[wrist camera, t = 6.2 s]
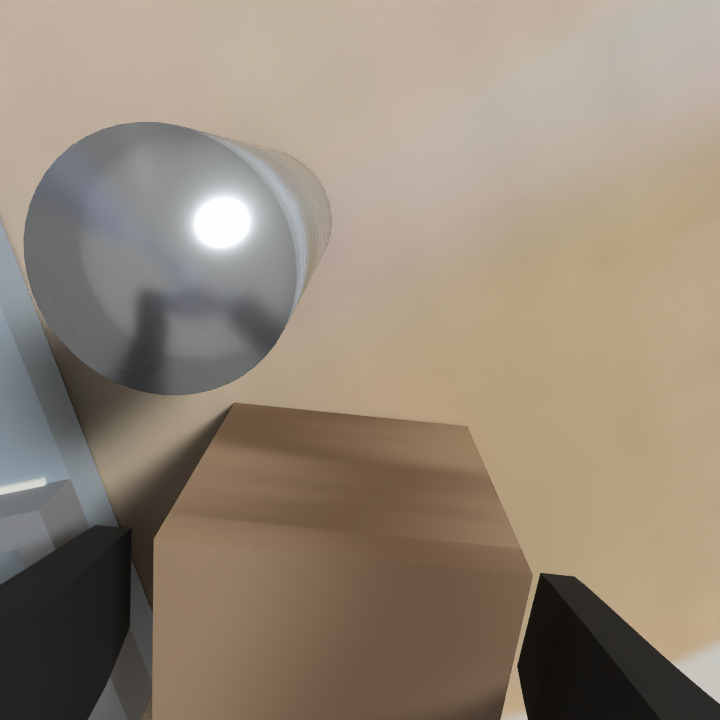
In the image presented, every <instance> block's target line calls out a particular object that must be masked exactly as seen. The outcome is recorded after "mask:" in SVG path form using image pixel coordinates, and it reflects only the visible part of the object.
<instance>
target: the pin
mask: <svg viewBox="0 0 720 720" xmlns="http://www.w3.org/2000/svg"><path fill="white" fill-rule="evenodd" d="M331 226H332V216H331V208H330V204H329V200H328V197H327V195H326V192H325V190H324V188H323V186H322V184H321V183H320V181H319V180H318V178H317V177H316V176H315V174H314V173H313V172H312V171H311V170H310V169H309V168H308V167H307V166H306V165H304V164H303V163H302V162H301V161H299V160H297V159H296V158H294V157H292V156H290V155H288V154H286V153H283V152H279V151H276V150H272V149H268V148H264V147H260V146H256V145H252V144H248V143H245V142H241V141H237V140H233V139H229V138H225V137H221V136H217V135H213V134H209V133H205V132H201V131H197V130H193V129H189V128H185V127H181V126H177V125H171V124H165V123H158V122H135V123H127V124H120V125H116V126H113V127H109V128H106V129H102V130H100V131H97V132H95V133H93V134H91V135H89V136H86V137H85V138H83V139H81V140H80V141H78V142H77V143H75V144H74V145H72V146H71V147H69V148H68V149H67V150H66V151H65V152H64V153H63V154H62V155H61V156H59V157H58V158H57V159H56V160H55V162H54V163H53V164H52V165H51V167H50V168H49V169H48V170H47V172H46V173H45V174H44V176H43V178H42V180H41V181H40V183H39V185H38V186H37V188H36V190H35V193H34V195H33V198H32V200H31V203H30V206H29V210H28V214H27V218H26V223H25V232H24V258H25V265H26V271H27V276H28V280H29V283H30V286H31V290H32V293H33V295H34V298H35V300H36V302H37V305H38V307H39V309H40V311H41V313H42V314H43V316H44V318H45V320H46V321H47V323H48V325H49V326H50V328H51V329H52V330H53V332H54V333H55V334H56V336H57V337H58V338H59V340H60V341H61V342H62V343H63V344H64V345H65V346H66V347H67V348H68V349H69V350H70V351H71V352H72V353H73V354H74V355H75V356H76V357H77V358H79V359H80V360H81V361H82V362H83V363H84V364H86V365H87V366H89V367H90V368H92V369H93V370H95V371H96V372H98V373H99V374H101V375H103V376H105V377H106V378H108V379H110V380H112V381H114V382H116V383H119V384H121V385H124V386H127V387H129V388H132V389H136V390H140V391H144V392H147V393H155V394H162V395H186V394H195V393H201V392H205V391H209V390H213V389H216V388H218V387H221V386H223V385H226V384H228V383H230V382H232V381H234V380H236V379H238V378H239V377H241V376H243V375H244V374H246V373H247V372H248V371H250V370H251V369H252V368H254V367H255V366H256V365H257V364H258V363H259V362H260V361H261V360H262V359H263V358H264V357H265V356H266V355H267V354H268V353H269V351H270V350H271V349H272V347H273V346H274V345H275V344H276V342H277V340H278V339H279V337H280V335H281V334H282V332H283V330H284V328H285V326H286V324H287V323H288V321H289V319H290V317H291V315H292V313H293V311H294V309H295V307H296V305H297V303H298V301H299V300H300V298H301V296H302V294H303V292H304V290H305V288H306V286H307V284H308V282H309V280H310V279H311V277H312V275H313V273H314V271H315V269H316V267H317V265H318V263H319V261H320V259H321V257H322V256H323V254H324V252H325V250H326V247H327V245H328V242H329V238H330V234H331Z"/></svg>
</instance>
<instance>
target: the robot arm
mask: <svg viewBox="0 0 720 720" xmlns="http://www.w3.org/2000/svg"><path fill="white" fill-rule="evenodd" d="M131 536H132V529H131V528H122V527H113V526H103V525H95V526H93V527H91V528H90V529H88V530H86V531H85V532H83V533H81V534H80V535H78V536H76V537H75V538H73V539H72V540H70V541H69V542H67V543H65V544H64V545H62V546H61V547H59V548H58V549H56V550H54V551H53V552H51V553H50V554H48V555H47V556H45V557H43V558H42V559H40V560H39V561H37V562H36V563H34V564H32V565H31V566H29V567H28V568H26V569H24V570H23V571H21V572H19V573H18V574H16V575H15V576H13V577H11V578H10V579H8V580H7V581H5V582H3V583H2V584H0V720H88V718H89V717H90V715H91V713H92V711H93V709H94V707H95V705H96V704H97V702H98V700H99V698H100V696H101V694H102V692H103V690H104V689H105V687H106V685H107V682H108V680H109V678H110V675H111V673H112V670H113V668H114V666H115V663H116V661H117V659H118V656H119V653H120V651H121V648H122V646H123V643H124V641H125V638H126V636H127V633H128V631H129V628H130V602H131ZM517 667H518V673H519V678H520V683H521V688H522V694H523V699H524V704H525V708H526V713H527V717H528V720H720V704H719V703H718V702H716V701H715V700H714V699H713V698H712V697H710V696H709V695H708V694H707V693H706V692H704V691H703V690H702V689H701V688H700V687H698V686H697V685H696V684H695V683H694V682H693V681H691V680H690V679H689V678H688V677H687V676H685V675H684V674H683V673H682V672H681V671H680V670H679V669H677V668H676V667H675V666H674V665H673V664H672V663H671V662H669V661H668V660H667V659H666V658H665V657H664V656H663V655H662V654H660V653H659V652H658V651H657V650H656V649H655V648H654V647H653V646H652V645H650V644H649V643H648V642H647V641H646V640H645V639H644V638H643V637H642V636H641V635H639V634H638V633H637V632H636V631H635V630H634V629H633V628H632V627H631V626H630V625H628V624H627V623H626V622H625V621H624V620H623V619H622V618H621V617H620V616H619V615H618V614H616V613H615V612H614V611H613V610H612V609H611V608H610V607H609V606H608V605H607V604H606V603H604V602H603V601H602V600H601V599H600V598H599V597H598V596H597V595H596V594H594V593H593V592H592V591H591V590H590V589H589V588H588V587H586V586H585V585H584V584H583V583H582V582H580V581H579V580H578V579H577V578H575V577H573V576H564V575H555V574H545V573H540V577H539V581H538V585H537V589H536V593H535V597H534V601H533V605H532V609H531V613H530V617H529V621H528V625H527V629H526V633H525V637H524V641H523V645H522V649H521V653H520V657H519V661H518V665H517Z"/></svg>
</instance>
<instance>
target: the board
mask: <svg viewBox="0 0 720 720" xmlns="http://www.w3.org/2000/svg"><path fill="white" fill-rule="evenodd" d="M95 525H103V526H113V527H119V525H118V522H117V520H116V517H115V515H114V512H113V509H112V507H111V504H110V502H109V499H108V496H107V494H106V491H105V489H104V486H103V484H102V481H101V478H100V476H99V473H98V471H97V468H96V465H95V463H94V460H93V458H92V455H91V452H90V450H89V447H88V445H87V442H86V439H85V437H84V434H83V432H82V429H81V426H80V424H79V421H78V419H77V416H76V413H75V411H74V408H73V406H72V403H71V401H70V398H69V395H68V393H67V390H66V388H65V385H64V382H63V380H62V377H61V375H60V372H59V369H58V367H57V364H56V362H55V359H54V356H53V354H52V351H51V349H50V346H49V343H48V341H47V338H46V336H45V333H44V330H43V328H42V325H41V323H40V320H39V318H38V315H37V312H36V310H35V307H34V305H33V302H32V299H31V297H30V294H29V292H28V289H27V286H26V284H25V281H24V279H23V276H22V273H21V271H20V268H19V266H18V263H17V260H16V258H15V255H14V253H13V250H12V247H11V245H10V242H9V240H8V237H7V235H6V232H5V229H4V227H3V224H2V222H1V219H0V584H2V583H3V582H5V581H7V580H8V579H10V578H11V577H13V576H15V575H16V574H18V573H19V572H21V571H23V570H24V569H26V568H28V567H29V566H31V565H32V564H34V563H36V562H37V561H39V560H40V559H42V558H43V557H45V556H47V555H48V554H50V553H51V552H53V551H54V550H56V549H58V548H59V547H61V546H62V545H64V544H65V543H67V542H69V541H70V540H72V539H73V538H75V537H76V536H78V535H80V534H81V533H83V532H85V531H86V530H88V529H90V528H91V527H93V526H95ZM152 666H153V613H152V611H151V608H150V605H149V603H148V600H147V598H146V595H145V592H144V590H143V587H142V585H141V582H140V579H139V577H138V574H137V572H136V569H135V567H134V564H133V561H132V559H131V602H130V628H129V631H128V633H127V636H126V638H125V641H124V643H123V646H122V648H121V651H120V653H119V656H118V659H117V661H116V663H115V666H114V668H113V670H112V673H111V675H110V678H109V680H108V682H107V685H106V687H105V689H104V690H103V692H102V694H101V696H100V698H99V700H98V702H97V704H96V705H95V707H94V709H93V711H92V713H91V715H90V717H89V718H88V720H141V718H142V715H143V713H144V711H145V708H146V706H147V703H148V701H149V699H150V696H151V694H152Z"/></svg>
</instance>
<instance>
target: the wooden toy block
mask: <svg viewBox="0 0 720 720" xmlns="http://www.w3.org/2000/svg"><path fill="white" fill-rule="evenodd" d="M532 577H533V575H532V572H531V570H530V568H529V566H528V563H527V561H526V559H525V556H524V554H523V552H522V550H521V547H520V545H519V543H518V541H517V538H516V536H515V534H514V531H513V529H512V527H511V525H510V522H509V520H508V518H507V516H506V513H505V511H504V509H503V507H502V504H501V502H500V500H499V497H498V495H497V493H496V491H495V488H494V486H493V484H492V482H491V479H490V477H489V475H488V473H487V470H486V468H485V466H484V463H483V461H482V459H481V457H480V454H479V452H478V450H477V448H476V445H475V443H474V441H473V439H472V436H471V434H470V432H469V429H468V427H465V426H456V425H446V424H436V423H426V422H416V421H407V420H397V419H387V418H377V417H367V416H358V415H348V414H338V413H328V412H318V411H309V410H299V409H289V408H279V407H269V406H260V405H250V404H240V403H234V404H233V406H232V408H231V409H230V411H229V413H228V415H227V416H226V418H225V420H224V421H223V423H222V425H221V426H220V428H219V430H218V431H217V433H216V435H215V436H214V438H213V440H212V441H211V443H210V445H209V447H208V448H207V450H206V452H205V453H204V455H203V457H202V458H201V460H200V462H199V463H198V465H197V467H196V468H195V470H194V472H193V474H192V475H191V477H190V479H189V480H188V482H187V484H186V485H185V487H184V489H183V490H182V492H181V494H180V495H179V497H178V499H177V501H176V502H175V504H174V506H173V507H172V509H171V511H170V512H169V514H168V516H167V517H166V519H165V521H164V522H163V524H162V526H161V527H160V529H159V531H158V533H157V534H156V536H155V538H154V554H153V666H152V720H500V718H501V714H502V710H503V705H504V701H505V696H506V692H507V687H508V683H509V679H510V674H511V670H512V665H513V661H514V656H515V652H516V647H517V643H518V639H519V634H520V630H521V625H522V621H523V616H524V612H525V608H526V603H527V599H528V594H529V590H530V585H531V581H532Z"/></svg>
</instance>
